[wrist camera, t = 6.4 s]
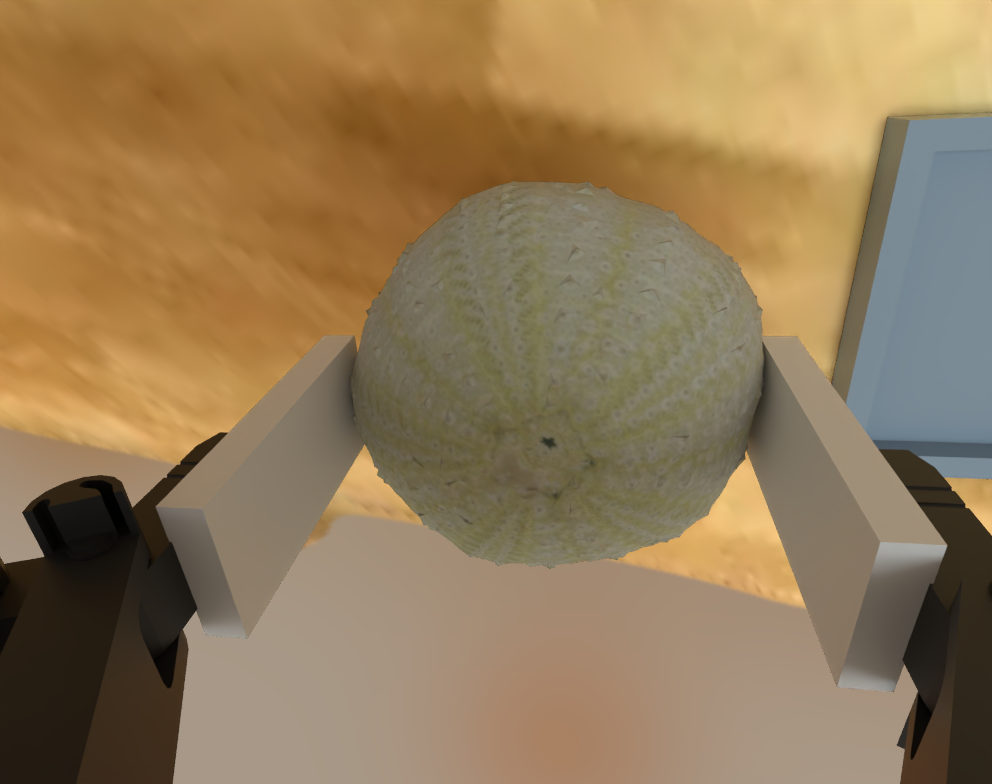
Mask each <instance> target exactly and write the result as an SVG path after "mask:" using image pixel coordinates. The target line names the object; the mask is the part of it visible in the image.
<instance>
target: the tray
mask: <svg viewBox="0 0 992 784" xmlns="http://www.w3.org/2000/svg"><path fill="white" fill-rule="evenodd" d="M832 386H833V387H834V388H835V390H836V391H837V393H838V394H839V395H840V397H841V398H842V400H843V401H844V402H845V404H846V405H847V407H848V408H849V409H850V411H851V412H852V413H853V415H854V416H855V418H856V419H857V420H858V422H859V423H860V425H861V426H862V427H863V429H864V430H865V432H866V433H867V434H868V436H869V437H870V438H871V440H872V441H873V443H874V444H875V445H876V447H877V448H878V449H897V450H909V451H910V452H912V453H914V454H915V455H917V456H918V457H920V458H921V459H923V460H924V461H926V462H928V463H929V464H931V465H932V466H934V467H935V468H936V469H937V470H938V471H939V473H940V474H941V475H942V476H943V477H951V478H977V479H992V112H985V113H963V114H942V115H920V116H899V117H888V118H887V123H886V128H885V132H884V137H883V142H882V147H881V152H880V156H879V161H878V166H877V171H876V175H875V180H874V185H873V190H872V194H871V199H870V204H869V209H868V213H867V218H866V223H865V228H864V232H863V237H862V242H861V247H860V251H859V256H858V261H857V266H856V270H855V275H854V280H853V285H852V289H851V294H850V299H849V304H848V309H847V313H846V318H845V323H844V328H843V332H842V337H841V342H840V347H839V351H838V356H837V361H836V366H835V370H834V375H833V380H832Z"/></svg>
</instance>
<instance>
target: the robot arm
mask: <svg viewBox="0 0 992 784" xmlns="http://www.w3.org/2000/svg"><path fill="white" fill-rule="evenodd" d="M762 348H763V354H764V367H763V377H764V380H765V384H764V386H763V388H762V390H761V393H762V395H761V396H760V400H759V403H758V405H757V407H756V410H755V414H754V418H753V421H752V425H751V428H750V432H749V436H748V440H747V443H748V449H747V453H748V455H749V458H750V461H751V463H752V466H753V469H754V471H755V474H756V476H757V479H758V482H759V484H760V487H761V490H762V492H763V495H764V497H765V500H766V503H767V505H768V508H769V511H770V513H771V516H772V518H773V521H774V524H775V526H776V529H777V531H778V534H779V537H780V539H781V542H782V545H783V547H784V550H785V552H786V555H787V558H788V560H789V563H790V566H791V568H792V571H793V573H794V576H795V579H796V581H797V584H798V587H799V589H800V592H801V594H802V597H803V600H804V602H805V605H806V608H807V610H808V613H809V615H810V618H811V620H812V623H813V626H814V628H815V631H816V634H817V636H818V639H819V642H820V644H821V647H822V649H823V652H824V654H825V657H826V660H827V663H828V665H829V668H830V670H831V673H832V676H833V678H834V681H835V683H836V686H837V687H839V688H851V689H863V690H875V691H887V692H894V690H895V687H896V685H897V682H898V679H899V677H900V674H901V671H902V668H903V666H904V664H905V666H906V668H907V670H908V672H909V673H910V676H911V678H912V680H913V682H914V684H915V686H916V688H917V690H918V693H917V695H916V698H915V700H914V703H913V705H912V708H911V711H910V713H909V716H908V718H907V721H906V723H905V726H904V728H903V731H902V734H901V736H900V738H899V741H898V744H897V746H899V747H901V748H904V749H905V752H904V760H903V767H902V774H901V782H900V784H992V536H991V534H990V533H989V532H988V531H987V529H986V528H985V527H984V526H983V525H982V523H981V522H980V521H979V520H978V519H977V517H976V516H975V515H974V514H973V513H972V511H971V510H970V509H969V508H965V503H964V502H963V500H962V499H961V498H960V497H959V496H958V494H957V493H956V492H955V491H952V490H951V488H952V487H951V486H950V485H949V484H948V482H947V481H946V480H945V479H944V478H943V476H942V475H941V474H940V473H939V471H938V470H937V469H936V468H935V467H934V466H932V465H931V464H929V463H928V462H926V461H924V460H923V459H921V458H920V457H918V456H917V455H915V454H914V453H912V452H910V451H909V450H897V449H878V448H877V447H876V445H875V444H874V443H873V441H872V440H871V438H870V437H869V436H868V434H867V433H866V432H865V430H864V429H863V427H862V426H861V425H860V423H859V422H858V420H857V419H856V418H855V416H854V415H853V413H852V412H851V411H850V409H849V408H848V407H847V405H846V404H845V402H844V401H843V400H842V398H841V397H840V395H839V394H838V393H837V391H836V390H835V388H834V387H833V386H832V384H831V383H830V382H829V380H828V379H827V377H826V376H825V375H824V373H823V372H822V370H821V369H820V368H819V366H818V365H817V364H816V362H815V361H814V359H813V358H812V357H811V355H810V354H809V352H808V351H807V350H806V348H805V347H804V345H803V344H802V343H801V341H800V340H799V339H798V337H797V336H762ZM357 354H358V353H357V347H356V342H355V336H354V335H324V336H323V337H322V338H321V339H320V340H319V341H318V342H317V343H316V344H315V345H314V346H313V347H312V348H311V349H310V350H309V351H308V352H307V354H306V355H305V356H304V357H303V358H302V359H301V360H300V361H299V362H298V363H297V364H296V365H295V366H294V367H293V368H292V369H291V370H290V371H289V372H288V373H287V374H286V375H285V376H284V377H283V378H282V379H281V380H280V381H279V382H278V383H277V384H276V385H275V386H274V387H273V388H272V389H271V390H270V391H269V392H268V393H267V394H266V395H265V396H264V397H263V398H262V399H261V400H260V401H259V402H258V403H257V404H256V405H255V406H254V407H253V408H252V409H251V410H250V411H249V412H248V413H247V414H246V415H245V416H244V417H243V418H242V420H241V421H240V422H239V423H238V424H237V425H236V426H235V427H234V428H233V429H232V430H231V431H230V432H229V433H221V432H220V433H218V434H217V435H215V436H213V437H211V438H210V439H208V440H206V441H204V442H203V443H201V444H199V445H197V446H196V447H195V448H194V449H193V450H192V451H191V452H190V453H189V454H188V455H187V456H186V457H185V458H184V459H183V460H182V461H181V464H180V465H176V466H175V467H174V468H173V469H172V470H171V471H170V472H169V473H168V474H167V478H163V479H162V480H161V481H160V482H159V483H158V484H157V485H156V486H155V487H154V488H153V489H152V490H151V491H150V492H149V493H148V494H146V495H145V496H144V497H143V498H142V499H141V500H140V501H139V502H138V503H137V504H136V505H135V506H134V507H133V508H132V506H131V504H130V501H129V499H128V496H127V494H126V491H125V489H124V486H123V484H122V482H121V481H119V480H118V479H116V478H115V477H111V476H103V475H98V476H90V477H83V478H79V479H77V480H73V481H69V482H66V483H63V484H61V485H59V486H57V487H55V488H53V489H50V490H48V491H46V492H45V493H43V494H42V495H40V496H39V497H38V498H36V499H35V500H33V501H32V502H31V503H30V504H29V505H28V506H27V507H26V509H25V510H24V511H23V512H22V513H23V515H24V517H25V519H26V521H27V523H28V525H29V527H30V529H31V531H32V532H33V534H34V536H35V538H36V540H37V542H38V544H39V546H40V548H41V550H42V551H43V554H44V557H42V558H36V559H31V560H24V561H18V562H13V563H7V564H4V563H3V561H2V559H1V558H0V784H173V776H174V767H175V758H176V750H177V742H178V733H179V725H180V716H181V708H182V699H183V691H184V682H185V674H186V665H187V657H188V644H187V639H186V636H185V634H184V631H183V628H184V626H185V625H186V624H187V622H188V621H189V619H190V618H191V617H192V615H193V614H194V613H195V611H197V614H198V616H199V619H200V622H201V624H202V627H203V629H204V632H205V634H206V635H208V636H220V637H232V638H244V639H247V638H248V637H249V635H250V634H251V632H252V630H253V629H254V627H255V625H256V624H257V622H258V620H259V619H260V617H261V615H262V614H263V612H264V610H265V609H266V607H267V605H268V604H269V602H270V600H271V599H272V597H273V596H274V594H275V592H276V591H277V589H278V587H279V586H280V584H281V582H282V581H283V579H284V577H285V576H286V574H287V572H288V571H289V569H290V567H291V566H292V564H293V562H294V561H295V559H296V557H297V555H298V554H299V552H300V551H301V549H302V547H303V546H304V544H305V542H306V541H307V539H308V537H309V536H310V534H311V532H312V531H313V529H314V527H315V526H316V524H317V522H318V521H319V519H320V517H321V516H322V514H323V512H324V511H325V509H326V507H327V506H328V504H329V502H330V501H331V499H332V497H333V496H334V494H335V493H336V491H337V489H338V488H339V486H340V484H341V483H342V481H343V479H344V478H345V476H346V474H347V473H348V471H349V469H350V468H351V466H352V464H353V463H354V461H355V459H356V458H357V456H358V454H359V453H360V451H361V449H362V448H363V446H364V444H365V443H364V441H363V439H362V437H361V435H360V433H359V431H358V430H357V428H356V426H355V421H354V420H353V419H352V416H353V415H354V414H355V413H354V406H353V399H352V394H351V392H352V391H351V387H350V383H351V382H350V379H349V377H350V376H351V375H352V372H351V371H352V368H353V366H354V363H355V360H356V357H357Z"/></svg>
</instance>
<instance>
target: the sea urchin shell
mask: <svg viewBox="0 0 992 784" xmlns="http://www.w3.org/2000/svg"><path fill="white" fill-rule="evenodd" d="M762 310H763V309H762V308H761V307H760V306H759V305H758V303H757V296H755V295H754V293H753V291H752V289H751V288H750V286H749V284H748V283H747V281H746V279H745V278H744V276H743V274H742V273H741V268H740V267H739V266H738V263H737V262H734V263H733V257H731V256H729V255H726V254H725V253H724V252H723V251H722V250H721V249H720V248H719V247H718V246H717V245H715V244H713V243H712V242H710V241H709V240H707V239H705V238H704V237H702V236H701V235H699V234H698V233H697V232H696V231H695V230H693V229H692V228H691V227H690V226H689V225H688V224H686V223H684V222H683V221H681V220H679V217H678V215H677V214H675V213H674V211H673V210H672V211H669V212H665V211H664V210H662V209H660V208H658V207H656V206H653V205H650V204H646V203H643V202H639V201H635V200H631V199H627V198H624V197H622V196H619V195H616V194H615V193H614V192H612V191H611V190H610V189H609V188H607V187H602V188H596V187H595V186H593V185H592V184H591V183H590V182H584V183H565V182H516V181H512V182H511V183H506V184H501V185H497V186H494V187H492V188H489V189H487V190H484V191H482V192H479V193H476V194H473V195H470V196H469V197H467V198H466V199H465V198H462V199H461V200H460V201H459V203H458V204H457V205H456V206H454V207H453V208H452V209H451V210H449V211H448V212H447V213H446V214H444V215H443V216H442V217H441V218H440V219H439V220H438V221H437V222H436V223H435V224H434V225H432V226H431V227H430V228H428V229H427V230H426V231H425V232H424V233H423V234H422V235H421V236H420V237H419V238H418V239H417V240H416V241H415V243H408V244H407V246H406V249H405V251H404V252H402V254H401V256H400V257H399V258H398V261H397V266H395V267H394V268H393V273H392V275H391V276H390V278H389V279H388V280H387V283H386V284H385V286H384V288H383V290H382V291H381V292H379V296H378V297H377V298H376V299H374V300H373V301H372V306H371V308H369V309H368V310H366V312H367V314H368V318H367V320H366V321H365V326H364V329H363V333H362V337H361V341H360V346H359V351H358V354H357V357H356V360H355V363H354V366H353V368H352V371H351V372H352V375H351V376H350V377H349V379H350V382H351V383H350V387H351V391H352V392H351V394H352V399H353V406H354V413H355V414H354V415H353V416H352V419H353V420H354V421H355V426H356V428H357V430H358V431H359V433H360V435H361V437H362V439H363V441H364V443H365V445H366V447H367V449H368V451H369V453H370V455H371V457H372V459H373V463H374V466H375V467H376V468H377V469H378V474H377V476H379V477H380V478H382V479H384V483H387V484H389V485H390V486H391V487H392V489H393V490H394V491H395V492H396V494H398V495H399V496H400V497H401V498H402V499H403V500H404V501H405V503H406V504H407V505H408V506H409V507H410V509H411V510H412V511H414V512H415V513H416V514H417V515H418V516H419V517H420V518H421V520H422V523H423V525H428V527H429V529H431V530H435V531H437V532H438V533H440V534H441V535H443V536H444V537H446V538H447V539H448V540H449V541H451V542H452V543H453V544H454V545H456V546H457V547H458V548H459V549H460V550H462V551H463V552H464V553H466V554H467V555H468V556H470V557H476V558H481V559H486V560H489V561H492V562H495V563H496V564H497V565H498V566H499V565H502V564H507V563H524V564H527V565H529V566H539V565H544V566H545V567H547V568H549V569H551V568H554V567H556V566H557V565H559V564H572V563H577V562H582V561H590V562H591V561H595V560H601V559H607V558H609V559H615V560H618V558H619V557H621V558H622V557H623V556H625V555H626V554H627V553H628V552H632V551H636V550H638V549H640V548H642V547H647V546H651V545H654V544H657V543H660V542H668V541H669V540H670V539H673V538H675V537H678V538H679V537H680V536H681V534H682V533H683V532H684V531H685V530H686V529H687V528H689V527H690V526H691V525H692V524H694V523H695V522H696V521H698V520H699V519H701V518H703V517H705V516H707V515H708V514H709V511H710V509H711V507H712V505H713V504H714V502H715V501H716V500H717V498H718V497H719V496H720V494H721V493H722V491H723V489H724V488H725V486H726V484H727V482H728V480H729V478H730V476H731V475H732V473H733V472H734V471H735V469H737V467H738V466H739V465H740V464H741V463H742V462H743V461H744V460H745V451H746V450H747V449H748V443H747V440H748V436H749V432H750V428H751V425H752V421H753V418H754V414H755V410H756V407H757V405H758V403H759V400H760V396H761V395H762V393H761V390H762V388H763V386H764V384H765V380H764V377H763V367H764V354H763V348H762V323H761V315H762Z"/></svg>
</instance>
